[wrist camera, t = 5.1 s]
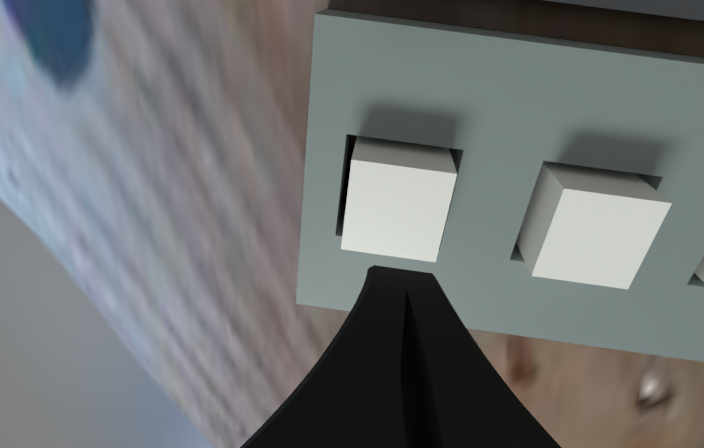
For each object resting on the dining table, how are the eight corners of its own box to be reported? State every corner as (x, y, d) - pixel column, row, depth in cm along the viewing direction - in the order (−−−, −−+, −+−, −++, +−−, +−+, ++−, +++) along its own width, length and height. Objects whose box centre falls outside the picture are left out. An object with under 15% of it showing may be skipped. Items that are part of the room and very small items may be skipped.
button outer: (447, 145, 15) (457, 173, 13) (429, 224, 16) (435, 262, 14) (357, 133, 15) (351, 159, 13) (348, 213, 16) (340, 249, 14)
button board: (899, 82, 14) (993, 102, 12) (732, 326, 19) (776, 372, 17) (326, 8, 14) (315, 13, 12) (307, 266, 19) (295, 303, 17)
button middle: (630, 169, 15) (671, 203, 12) (596, 247, 16) (628, 289, 14) (539, 157, 15) (563, 188, 12) (512, 235, 16) (531, 275, 14)
